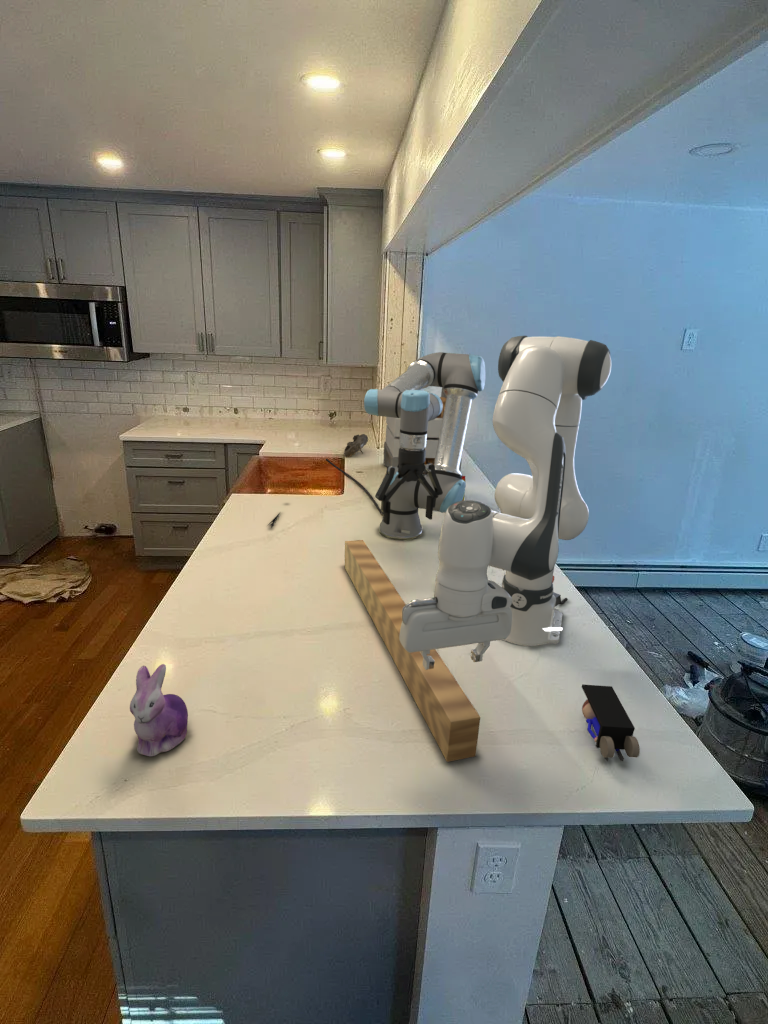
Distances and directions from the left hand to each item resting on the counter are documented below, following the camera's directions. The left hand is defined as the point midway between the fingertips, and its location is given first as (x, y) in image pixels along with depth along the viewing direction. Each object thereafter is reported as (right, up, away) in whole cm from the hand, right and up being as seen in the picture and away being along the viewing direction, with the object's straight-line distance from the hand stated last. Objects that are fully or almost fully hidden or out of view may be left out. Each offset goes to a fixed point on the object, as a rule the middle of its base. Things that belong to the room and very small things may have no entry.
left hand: (407, 520), depth 163 cm
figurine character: (+34, -41, -56) cm, 77 cm away
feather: (-46, +1, +49) cm, 67 cm away
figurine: (-47, -39, -61) cm, 86 cm away
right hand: (+5, -25, -61) cm, 66 cm away
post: (-5, -28, -26) cm, 38 cm away
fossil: (-22, +34, +144) cm, 150 cm away
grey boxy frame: (+10, +21, +112) cm, 115 cm away
